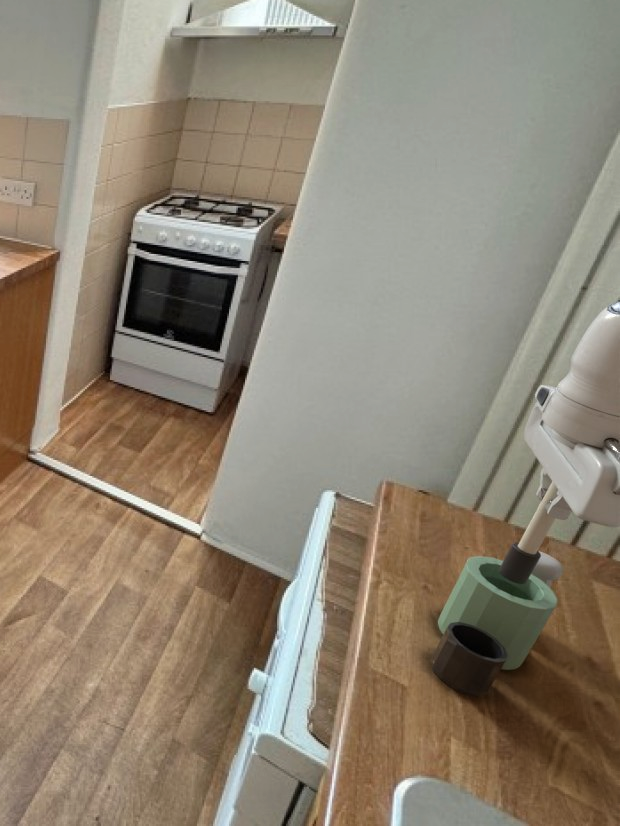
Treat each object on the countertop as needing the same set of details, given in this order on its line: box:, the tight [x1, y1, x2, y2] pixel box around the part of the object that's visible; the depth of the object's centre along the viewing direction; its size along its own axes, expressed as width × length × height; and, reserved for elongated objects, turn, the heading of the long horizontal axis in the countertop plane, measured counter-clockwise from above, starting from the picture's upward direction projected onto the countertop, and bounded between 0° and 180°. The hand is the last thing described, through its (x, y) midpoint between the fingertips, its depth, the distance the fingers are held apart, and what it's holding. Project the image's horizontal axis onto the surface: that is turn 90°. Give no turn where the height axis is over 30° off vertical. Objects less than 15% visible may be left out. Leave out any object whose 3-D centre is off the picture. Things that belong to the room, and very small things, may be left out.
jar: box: [437, 555, 559, 671], centre depth 88 cm, size 9×9×12 cm
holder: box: [430, 622, 508, 698], centre depth 83 cm, size 6×6×7 cm
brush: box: [499, 481, 558, 584], centre depth 82 cm, size 3×3×17 cm
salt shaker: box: [531, 551, 564, 589], centre depth 91 cm, size 6×6×13 cm
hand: (549, 508), depth 80 cm, fingers closed on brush, 2 cm apart
